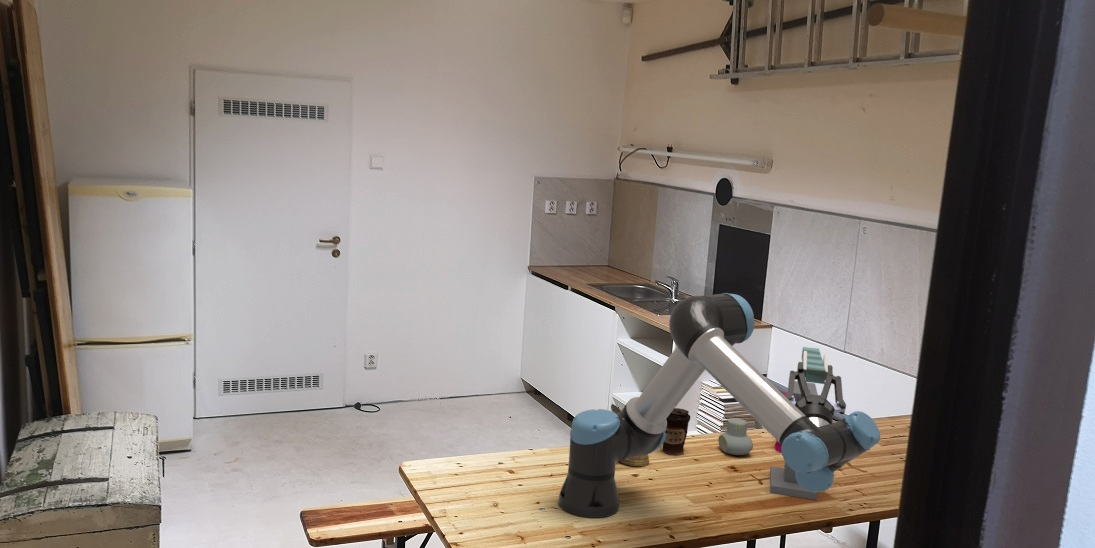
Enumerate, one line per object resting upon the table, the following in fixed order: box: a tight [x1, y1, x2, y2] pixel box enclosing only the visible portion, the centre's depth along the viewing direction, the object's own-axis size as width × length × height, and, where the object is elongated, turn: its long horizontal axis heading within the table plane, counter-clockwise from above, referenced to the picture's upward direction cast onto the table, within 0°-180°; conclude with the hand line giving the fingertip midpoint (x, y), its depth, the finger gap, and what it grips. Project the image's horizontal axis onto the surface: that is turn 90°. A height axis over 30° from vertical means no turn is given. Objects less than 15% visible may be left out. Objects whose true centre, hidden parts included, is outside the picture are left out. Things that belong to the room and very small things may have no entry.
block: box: [801, 346, 826, 385], centre depth 204 cm, size 26×4×3 cm, turn 165°
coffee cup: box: [662, 407, 691, 456], centre depth 252 cm, size 9×8×13 cm
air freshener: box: [717, 417, 754, 456], centre depth 256 cm, size 11×8×10 cm
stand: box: [769, 380, 819, 501], centre depth 230 cm, size 16×12×28 cm
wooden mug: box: [610, 403, 650, 468], centre depth 241 cm, size 9×14×18 cm, turn 117°
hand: (814, 356), depth 200 cm, fingers closed on block, 4 cm apart
